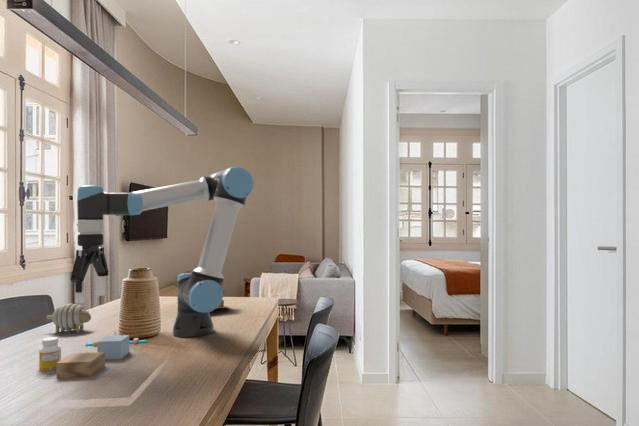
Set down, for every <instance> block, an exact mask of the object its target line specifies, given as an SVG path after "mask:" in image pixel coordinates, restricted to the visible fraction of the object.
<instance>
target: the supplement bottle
mask: <svg viewBox="0 0 639 426" xmlns="http://www.w3.org/2000/svg"><path fill="white" fill-rule="evenodd" d="M41 343H42V346H41V347H40V348H39V351H38V352H39V355H38V359H39V363H38V364H39V366H38V367H39V370H40V371H52V370H53V371H54V370H57V362H59V361H60V360H62V347H61V345H60V344H59V337H57V336H51V337H44V338H42V341H41Z"/></svg>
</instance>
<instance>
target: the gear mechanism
mask: <svg viewBox="0 0 639 426" xmlns="http://www.w3.org/2000/svg"><path fill="white" fill-rule="evenodd" d="M114 336H117V330H114ZM99 340H100V339H99ZM99 340H98V339H97V340H94V341H93V342H89V343H88V342H87V343H86V344H85V347H91V346H93V347H97V342H98V341H99ZM145 343H147V339H141V340H139V337H135V338H133V340H129V345H130V344H133V345H137V344H145Z"/></svg>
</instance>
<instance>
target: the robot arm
mask: <svg viewBox="0 0 639 426" xmlns="http://www.w3.org/2000/svg"><path fill="white" fill-rule="evenodd" d="M254 185H255V183H254V178H253V176H252V174H251V172H250V171H248V170H247V169H246V168H244V167H241V166H230V167H228V168H227V169H222V170H219V171H218V172H214V173H212V174H209V175H204V176H201V177H200V178H199V179H197V180H192V181H187V182H186V181H185V182H180V183H176V184H171V185H165V186H160V187H153V188H152V187H151V188H149V189H148V188H147V189H141V190H136V191H131V192H130V191H129V192H107V191H104V187H103V186H101V185H81V186H79V187H77V199H76V200H77V201H76V202H77V203H76V204H77V205H76V206H77V210H76V211H77V223H76V226H77V232H78V233H79V234H78V235H77V245H78V246H79V247H81V249H76V251H75V259H74V263H73V267H72V272H71V276H70V281H71V283H74V289H75V290H74V294H75V296H74V300H75V302H74V304H85V303H86V281H85V277H86V276H87V274H88V273H87V272H88V271H89V267H90V266H91V264H92V266H93V268H94V271H95V272H96V278H95V289H96V290H95V295H96V297H105V296H106V277H108V276H109V268H108V264H107V260H106V259H107V258H106V255H105V247H104V246H103V245H104V234H103V233H104V231H105V230H104V216H105V215H106V216H117V217H121V216H135V215H136V216H137V215H141V213H142V212H145V211H149V210H154V209H159V208H165V207H171V206H175V205H182V204H186V203H189V202H195V201H200V200H201V201H202V200H204V201H206V202H209V201H214V202H215V206H214V210H213V213H212V217H211V221H210V223H209V227H208V231H207V234H206V238H205V240H204V241H205V242H204V245H203V248H202V252H201V255H200V258H199V263H198V266H197V267H195V268H194V269H192V271H191V272H187V273H180V274H178V275H177V279H176V280H177V281H176V284H177V288H176V289H177V292H176V293H177V314H176V317H175V320H174V324H173V326H172V335H173V336H174V337H175V336H176V337H181V338H193V337H194V338H195V337H201V336H206V335H209V334H212V333H213V332H214V331H215V330H214V323H213V320H212V317H211V314H210V312H213V311H214V310H216V309H218V308H217V307H218V306H219V305H220V303H221V302H222V300H224V299H223V298H224V296H223V290H224V289H223V283H224V280H225V276H224V275H223V273H222V271H223V268H224V265H225V264H224V263H225V261H226V257H227V255H228V254H227V253H228V250H229V246H230V243H231V239H232V235H233V232H234V228H235V225H236V221H237V216H238V213H239V211H240V210H241V209H242V208H244V207H245V204H246V201H247V197H248V196H250V194H251V193H252V192H253V190H254ZM222 289H223V290H222Z"/></svg>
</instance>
